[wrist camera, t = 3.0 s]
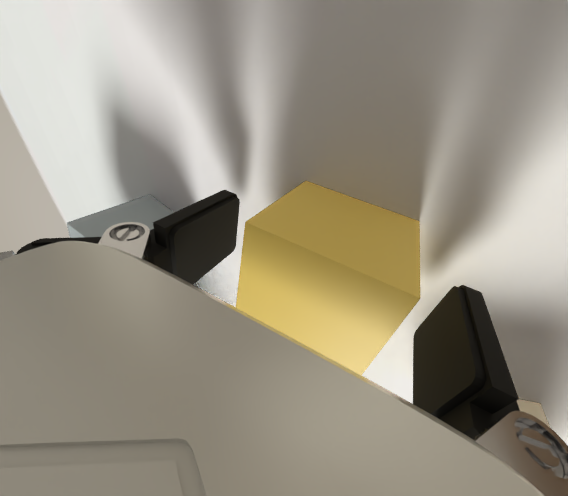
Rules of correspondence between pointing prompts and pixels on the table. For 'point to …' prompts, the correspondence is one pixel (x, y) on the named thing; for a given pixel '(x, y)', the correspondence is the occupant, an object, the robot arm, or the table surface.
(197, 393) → the robot arm
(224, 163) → the table surface
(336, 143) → the table surface
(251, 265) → the mustard cube
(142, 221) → the slate cube
